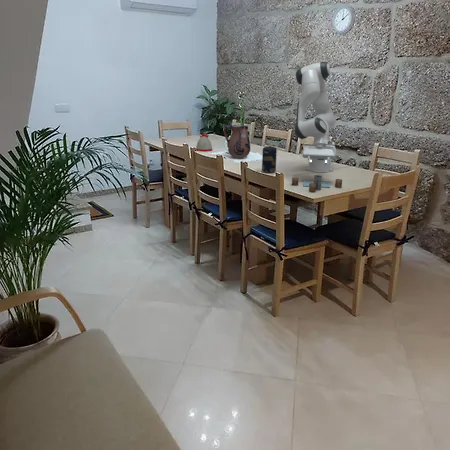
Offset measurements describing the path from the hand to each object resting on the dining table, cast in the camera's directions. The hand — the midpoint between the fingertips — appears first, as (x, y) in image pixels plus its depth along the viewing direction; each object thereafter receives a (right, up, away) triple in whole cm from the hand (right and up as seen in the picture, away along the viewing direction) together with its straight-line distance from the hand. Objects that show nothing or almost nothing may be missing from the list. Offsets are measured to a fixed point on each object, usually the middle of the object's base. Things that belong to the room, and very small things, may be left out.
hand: (318, 163), depth 259 cm
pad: (0, -12, +4) cm, 13 cm away
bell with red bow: (-75, +27, +110) cm, 136 cm away
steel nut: (-2, -16, -5) cm, 17 cm away
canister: (-27, -1, +35) cm, 44 cm away
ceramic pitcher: (-47, +16, +80) cm, 95 cm away
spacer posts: (-2, -16, -4) cm, 16 cm away
